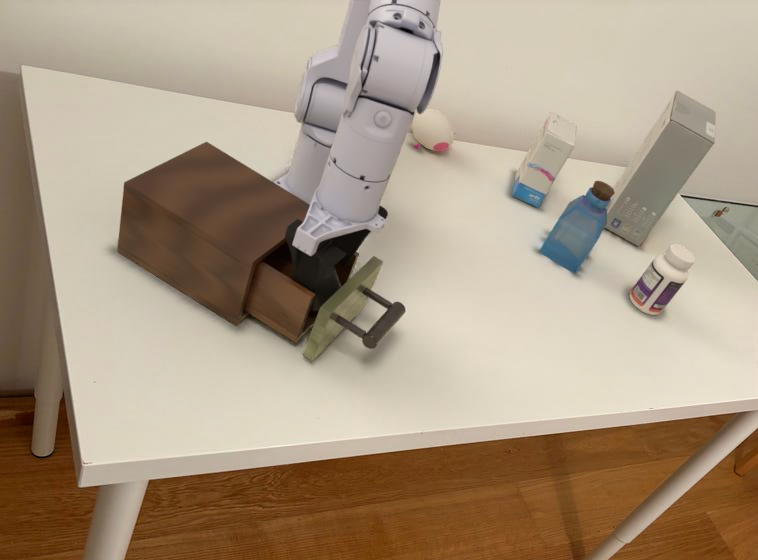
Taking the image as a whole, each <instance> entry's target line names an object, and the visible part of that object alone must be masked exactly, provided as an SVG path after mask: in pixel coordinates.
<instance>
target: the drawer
mask: <svg viewBox="0 0 758 560" xmlns="http://www.w3.org/2000/svg"><path fill="white" fill-rule="evenodd" d="M359 258H360V253H359V252H358V251H356V253H355V254H354V256H353V257H352V259H351V260H350V261H349V262H348V263H347V264H346V265H345V266H344V267H343V266H342V265H340V264H338V263H336V264H335V265H333V266H334V267H335V269H336V272H337V275H338V278H339V281H340V284H341V288H340V289H339V290H338V291H337V292H336V293H335V294H334V295H333V296H331V297H330V298H329V299H328V300H327V301H326V302H325V303H324V304H323V305H322V306H321V307H320V309H319V310H317V311H310V308H311V306H312V303H313V300H314V297H315V294H314V293H313V292H311V291H310V290H308V289H306V288H305V287H303V286H302V285H300V284H298V283H297V282H295V281H293V280H292V279H291V278H292V277H293V263H292V255H291V251H290V248H289V245H288V243H287V241H286V242H285V243H284V244H282V245H281V246H280V247H279V248H277V249H276V250H275V251H273V252H272V253H271V254H269V255H268V256H267V257H265V258H264V259H263V260H262V261H260V262H259V263H258V264H256V266H255V270H254V273H253V277H252V281H251V285H250V288H249V292H248V296H247V299H246V303H245V307H244V310H245V311H246V312H248V313H249V315H251V316H252V317H254V318H256V319H257V320H259V321H261V322H262V323H264V324H265V325H267V326H269V327H270V328H272V329H273V330H275V331H277V332H278V333H279V334H281V335H283V336H285V338H288V339H289V340H291V341H292V342H294V343H297V342H298V341H299V340H300V339H301V338H302V337H303V336H305V334H306V333H307V332H308V331H309V330H311V331H310V334H309V337H308V340H307V342H306V345H305V347H304V350H303V352H302V356H303V357H305V358H306V359H308V360H310V361H311V362H313V361H314V360H315V359H316V358H317V357H318V356H319V355H320V354H321V353H322V352H323V351H324V350H325V349H326V348H327V347H328V345H330V344H331V343H332V341H333V340H335V338H336V337H337V336H338V335H339V334H340V333H341V332H342V331H343V330H344V329H346V330H347V331H349V332H351V334H354V335H355V336H357V337H358V338H360V339H361V341H362V344H363V346H364V347H365V348H367V349H369V350H373V349H374V350H375V348H377V346H378V345H379V344H380V343H381V342H382V340H383V339H384V338H385V337H386V336H387V334H388V333H389V332H390V331H391V330H392V329H393V328H394V326H395V325H397V323H398V322H399V320H401V318H402V317H403V316H404V314H406V306H405V305H404V303H402V302H400V301H394V302H393V303H392V302H391V301H389V300H388V299H386V298H385V297H383V296H381V295H380V294H378V293H377V292H375V291H374V290H372V289H373V287H374V284H375V283H376V280H377V279H378V276H379V273H380V270H381V268H382V266H383V263H384V261H383V260H382V259H380V258H378V257H377V256H375V255H373V256H372V257H371V258H369V260H367V262H366V263H364V264H363V265H362V267H360V268H359V269H358V270H357V271H356V272H355V273H354V274H353V271H354V270H355V267H356V264H357V263H358V262H357V261H358V259H359ZM352 274H353V275H352ZM369 299H370V300H372V301H374V302H375V303H377V304H378V305H380V306H382V307H383V308H385V309H386V310H385V312H384V313H383V314H382V315H381V316H380V317H379V318H378V319H377V321H376V322H375V323H374V324H373V325H372V326H371V327H370V328H369V330H368V331H366V330H364V329H362V328H361V327H359V326H358V325H356V324H355V323H353V322H351V321H352V320H353V319H354V318H355V317H356V316H357V315H358V314H359V313H360V312H361V311H362V310H363V309H364V308H365V306H366V304H367V301H368V300H369Z"/></svg>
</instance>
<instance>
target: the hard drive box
mask: <svg viewBox="0 0 758 560" xmlns="http://www.w3.org/2000/svg"><path fill="white" fill-rule="evenodd" d="M716 119H717V111H715V110H714V109H712V108H710V107H708V106H706V105H705V104H702V103H701V102H699V101H697V100H696V99H694V98H692V97H690V96H689V95H687V94H686V93H683V92H681V91H679V90H676V91H675V92H674V94H673V95H672V96H671V98H670V99H669V101H668V103H667V104H666V106H665V108H664V109H663V111H662V112H661V113H660V115H659V117H658V118H657V119H656V121H655V122H654V125H653V126H652V127H651V129H650V131H649V132H648V133H647V135H646V136H645V137H644V139H643V141H642V143H641V144H640V145H639V147H638V149H637V150H636V152H635V153H634V155H633V156H632V158H631V160H630V162H629V163H628V164H627V166H626V167H625V169H623V170H624V171H623V172H622V173H621V174H620V177H619V178H618V179H617V181H616V183H615V185H614V186H613V187H612V188H613V190H614V192H615V194H614V195H613V196H612V197H611V198H610V199H611V202H610V203H609V205H608V206H607V207H606V209H607V224H606V226H605V228H604V229H607V230H608V231H610V232H611V233H614V234H615V235H617V236H619V237H620V238H623V239H624V240H626V241H627V242H630V243H632V244H633V245H635V246H637V247H640V246H641V245H642V243H643V242H644V241H645V239H646V238H647V237H648V235H649V234H650V233H651V231H652V230H653V228H654V227H655V225H656V224H657V223H658V221H659V220H660V219H661V217H662V216H663V215H664V214H665V212H666V210H667V209H668V208H669V206H670V205H671V204H672V202H673V201H674V199H675V198H676V197H677V195H678V194H679V193H680V191H681V190H682V188H683V187H684V186H685V184H686V183H687V181H688V180H689V178H691V176H692V175H693V173H694V172H695V170H696V169H697V168H698V167H699V165H700V163H701V162H702V161H703V159H704V158H705V157H706V155H707V154H708V153H709V152H710V150H711V148H713V146H714V145H715V141H716Z"/></svg>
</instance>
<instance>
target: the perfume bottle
mask: <svg viewBox="0 0 758 560" xmlns="http://www.w3.org/2000/svg"><path fill="white" fill-rule="evenodd" d="M613 188H614V187H612V186H611V185H609V184H608V183H607V182H604V181H602V180H595V181H594V183H593V185H592V187H589V188H588V190H587V191H586V193H585V194H582V195H580V196H578V197H576V198H575V199H573V200H571V201H569V202H568V204H567V206H566V207H565V209H564V210H563V211H562V212H561V214H560V216H559V217H558V218H557V221H556V222H555V224H554V226H553V228H552V229H551V231H550V232H549V234H548V236H547V237H546V239H545V240H544V242H543V244H542V245H541V247H540V249H539V250H538V253H540V254H541V255H543V256H544V257H546V258H547V259H549V260H551V261H553V262H554V263H556V264H557V265H559V266H560V267H563V268H564V269H566V270H567V271H568V272H571V273H572V274H574V275H576V274H577V272H578V271H579V270H580V268H581V266H582V265H583V264H584V262H585V260H587V257H588V256H589V254H590V253H591V252H592V250H593V249H594V247H595V245H596V244H597V243H598V241H599V239H600V237H601V235H602V233H603V232H604V230H605V229H606V228H605V226H606V224H607V209H606V207H607V206H608V205H609V203H610V202H611V199H610V198H611V197H612V196H613V195H614V194H615V192H614V190H613Z"/></svg>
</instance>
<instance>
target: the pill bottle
mask: <svg viewBox="0 0 758 560" xmlns="http://www.w3.org/2000/svg"><path fill="white" fill-rule="evenodd" d="M695 262H696V256H695V255H694V254H693V252H692V251H691V250H690V249H688V248H686V247H685V246H683V245H682V244H679V243H672V244H670V246H669V247H668V248H667V250H666V251H665V252H664V253H662V254H658V255H656V256H655V257H654V258H653V259H652V261H651V262H650V264H649V265H648V266H647V268H646V269H645V271H644V272H643V274H641V276H640V277H639V279H637V282H636V283H635V284H634V285H633V287H632V288H631V290H630V291H629V300H630V301H631V303H632V305H633V306H634V307H635V308H637V309H638V310H639V311H641V312H643V313H645V314H647V315H651V316H657V315H659V314H661V313H662V312H663V311H664V309H665V308H666V307H667V306H668V304H669V303H670V302H671V301H672V299H673V298H675V296H676V294H677V293H678V292H679V291H680V290H681V288H682V287H683V286H684V284H685V283H686V282H687V280H688V278H689V270H690V269H691V268H692V267H693V265H694V263H695Z"/></svg>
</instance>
